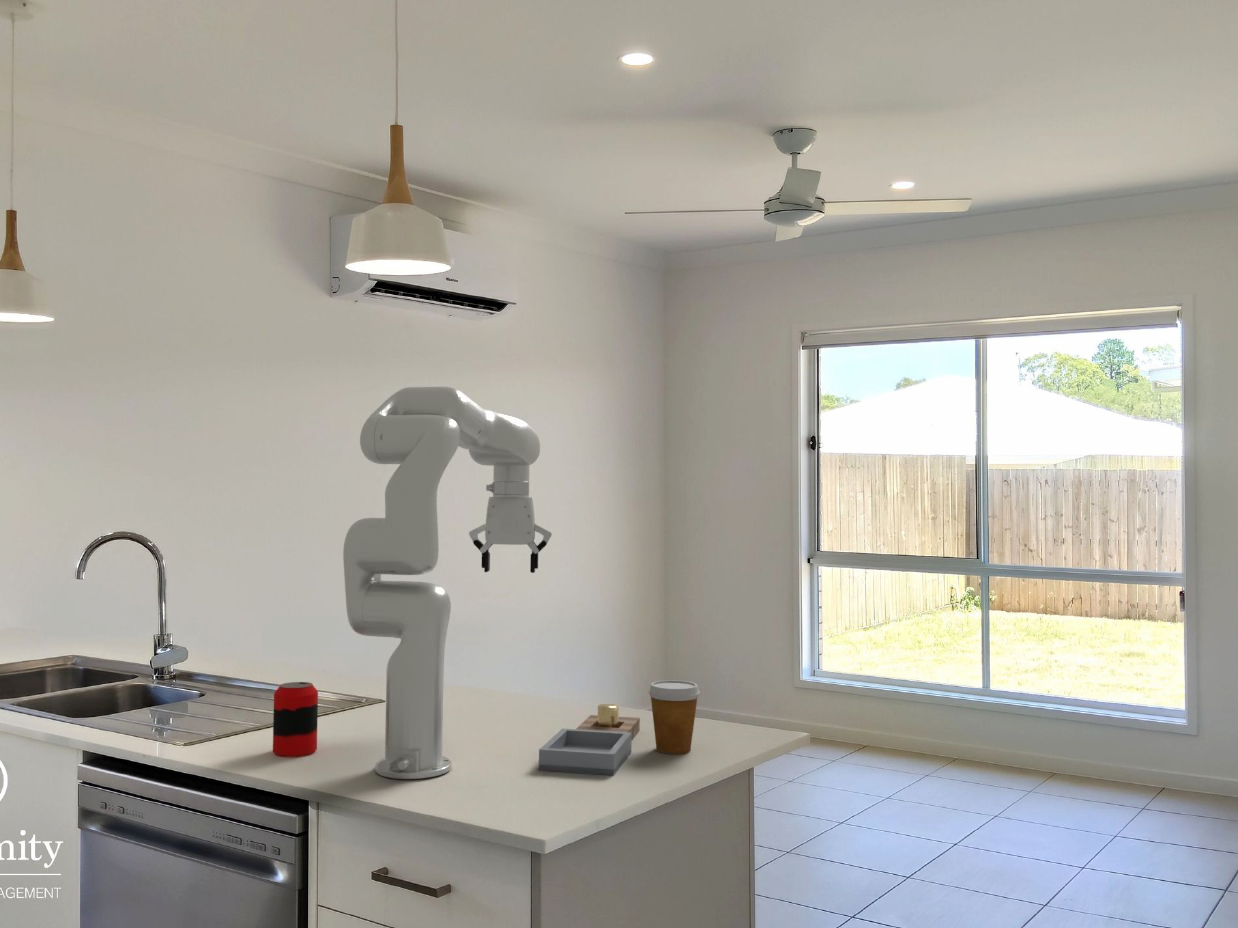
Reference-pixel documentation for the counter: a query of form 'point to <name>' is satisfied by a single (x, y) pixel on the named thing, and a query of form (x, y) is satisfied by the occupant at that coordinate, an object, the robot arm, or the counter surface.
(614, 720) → the pin
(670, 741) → the disposable coffee cup
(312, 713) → the soda can
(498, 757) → the counter surface
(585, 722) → the block
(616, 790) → the counter surface
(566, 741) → the slate tray
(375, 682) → the counter surface
